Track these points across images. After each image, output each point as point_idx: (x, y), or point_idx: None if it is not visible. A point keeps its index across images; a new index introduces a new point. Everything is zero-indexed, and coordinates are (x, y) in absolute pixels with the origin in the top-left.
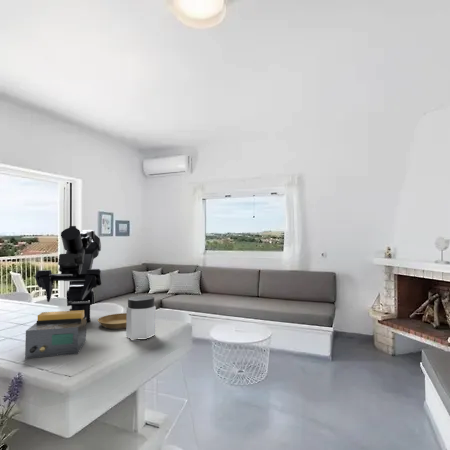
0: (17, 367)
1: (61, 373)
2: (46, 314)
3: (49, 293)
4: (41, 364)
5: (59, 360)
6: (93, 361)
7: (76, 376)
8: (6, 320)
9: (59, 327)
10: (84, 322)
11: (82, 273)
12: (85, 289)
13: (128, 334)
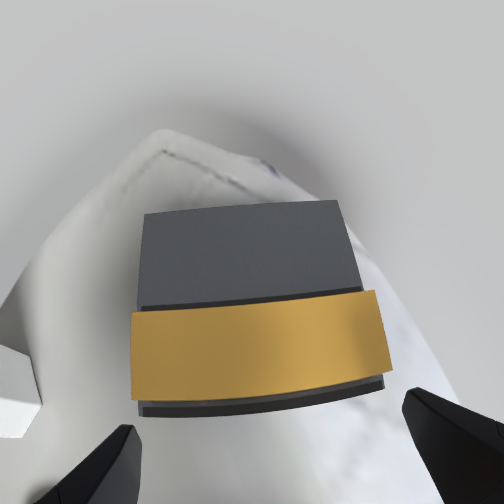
0: (298, 199)
1: (183, 161)
2: (338, 308)
3: (444, 422)
4: None
5: None
6: (122, 209)
7: (153, 150)
8: None
9: (219, 220)
10: None
11: None
12: (68, 480)
13: (27, 378)
